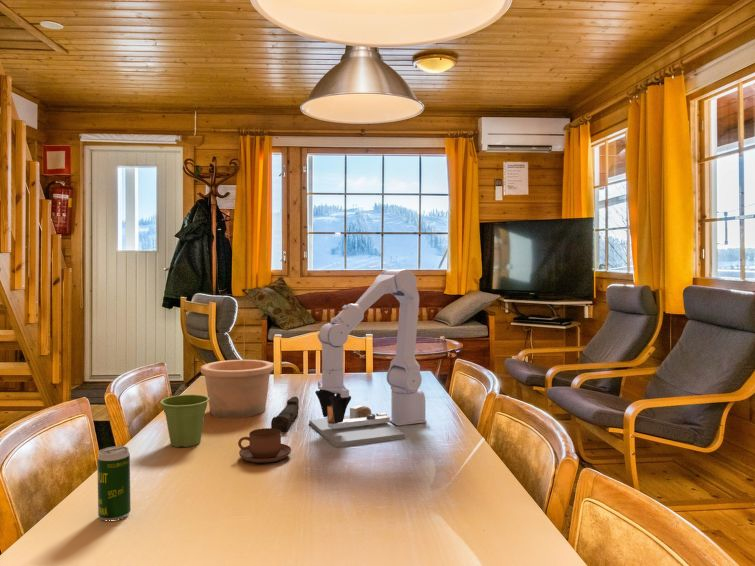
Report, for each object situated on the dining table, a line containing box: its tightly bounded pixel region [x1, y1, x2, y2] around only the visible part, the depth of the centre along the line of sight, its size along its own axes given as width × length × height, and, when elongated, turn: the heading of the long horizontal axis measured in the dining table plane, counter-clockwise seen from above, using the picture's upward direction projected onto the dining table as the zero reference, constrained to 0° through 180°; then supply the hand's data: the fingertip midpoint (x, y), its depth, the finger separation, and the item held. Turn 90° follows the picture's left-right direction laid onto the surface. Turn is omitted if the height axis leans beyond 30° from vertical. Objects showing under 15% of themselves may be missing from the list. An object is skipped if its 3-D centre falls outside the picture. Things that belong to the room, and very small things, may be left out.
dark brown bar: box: [270, 396, 300, 434], centre depth 170 cm, size 23×5×6 cm, turn 174°
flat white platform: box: [308, 404, 406, 448], centre depth 161 cm, size 19×23×4 cm
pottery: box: [200, 359, 275, 419], centre depth 182 cm, size 22×22×14 cm
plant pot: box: [160, 394, 210, 448], centre depth 150 cm, size 12×12×11 cm
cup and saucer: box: [237, 427, 292, 464], centre depth 139 cm, size 12×12×6 cm
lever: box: [326, 405, 391, 429], centre depth 162 cm, size 18×5×6 cm, turn 113°
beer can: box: [96, 445, 132, 521], centre depth 107 cm, size 5×5×12 cm
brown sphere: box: [359, 406, 372, 418], centre depth 169 cm, size 4×4×4 cm
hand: (332, 419), depth 158 cm, fingers open, 6 cm apart
